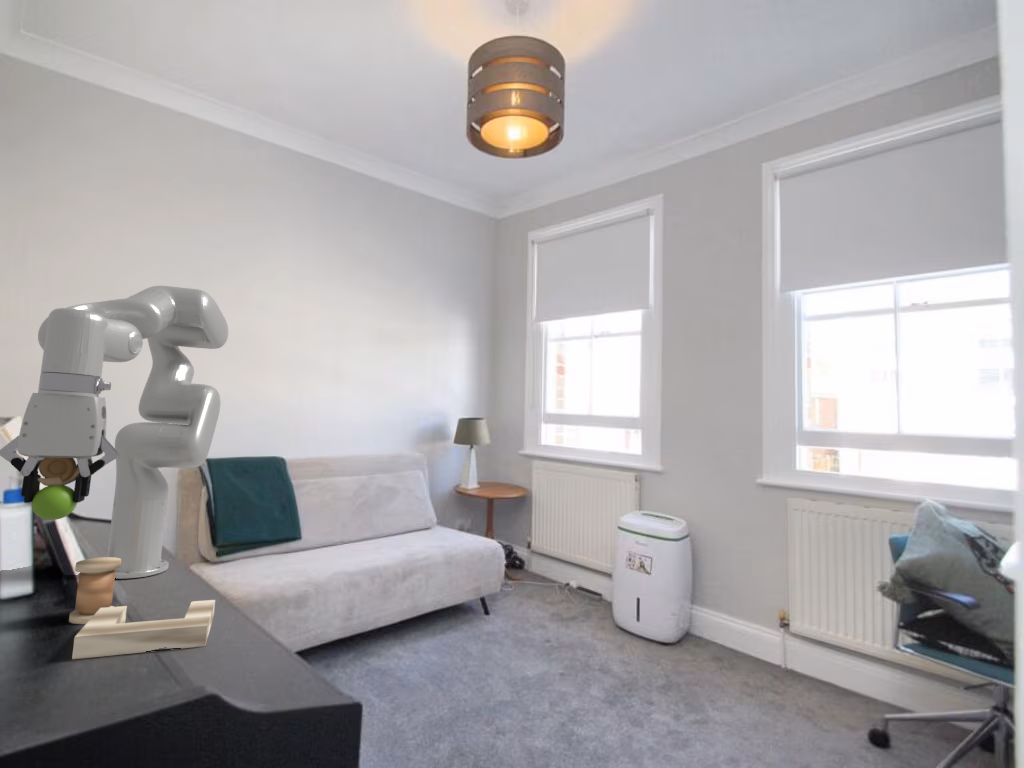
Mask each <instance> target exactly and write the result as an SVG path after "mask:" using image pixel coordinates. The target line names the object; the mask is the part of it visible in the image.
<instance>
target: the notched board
mask: <svg viewBox="0 0 1024 768" xmlns="http://www.w3.org/2000/svg"><path fill="white" fill-rule="evenodd" d="M215 607H216V599H207V600H195V601H194V600H193V601H191V602H190V605H189V607H188V609H187V610H186V611H187V612H186V613H185V615H184V617H183V618H169V619H168V618H167V619H160V620H159V619H158V620H147V621H146V620H143V621H131V622H126V617H127V608H128V606H127V605H124V606H123V605H121V606H114V607H105V608H100V609H99V610H98V611H97V612H96V613H95V615H94V616H93V617H92V618H91V619H90V620H89V621H88V622H87V624H84V626H83V627H82V628H80V630H79V631H78V632H77V633H76V635H75V636H74V638H73V649H72V656H71V657H72V658H71V660H80V659H89V658H90V659H91V658H98V657H99V658H100V657H112V656H119V655H121V656H122V655H128V654H139V653H140V654H141V653H147V652H146V651H151V650H155V649H159V648H164V647H167V648H181V649H187V648H188V649H189V648H190V649H191V648H198V647H206V644H207V641H208V638H209V634H210V630H211V629H212V624H213V622H214V616H215V609H216V608H215ZM151 652H152V651H151Z"/></svg>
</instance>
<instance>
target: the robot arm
mask: <svg viewBox="0 0 1024 768" xmlns="http://www.w3.org/2000/svg"><path fill="white" fill-rule="evenodd" d="M228 338H229V327H228V322H227V320H226V318H225V316H224V314H223V312H222V311H221V309H220V307H219V305H218V304H217V302H216V300H215V299H214V298H213V297H212V296H211V295H210V294H209V293H208V292H206V291H205V290H202V289H198V288H196V289H195V288H190V287H189V288H187V287H180V286H179V287H178V286H170V285H169V286H168V285H153V286H150V287H147V288H145V289H143V290H140V291H139V292H137V293H134V294H133V295H130V296H129V297H125V298H119V299H111V300H105V301H104V300H103V301H96V302H88V303H81V304H76V305H75V304H74V305H70V306H67V307H60V308H58V307H57V308H55V309H52V311H50V312H49V314H48V316H47V317H46V318H45V319H44V320H43V322H42V323H41V325H40V326H39V329H38V331H37V342H38V344H39V346H40V348H41V349H42V350H43V354H42V361H41V369H40V374H39V375H40V376H39V383H38V388H37V389H38V391H37V392H32V394H31V396H30V398H29V401H28V403H27V406H26V408H25V412H24V415H23V418H22V422H21V427H20V430H19V434H18V435H17V436H16V437H14V439H12V440H11V441H9V442H8V443H7V444H5V445H4V446H3V447H1V449H0V457H2V458H3V459H4V460H5V461H7V462H9V463H10V464H11V466H13V468H15V469H16V470H17V471H18V472H19V473H20V475H21V476H22V477H23V479H22V485H21V497H24V499H23V503H25V504H27V503H29V504H30V503H32V500H33V498H34V496H35V495H36V494H37V492H39V491H40V486H41V483H40V482H39V481H38V478H42V475H41V474H40V473H39V465H40V463H41V461H42V460H43V459H44V458H45V457H47V458H73V459H76V464H77V463H78V466H79V470H80V473H79V477H77V478H76V480H75V481H74V489H73V490H74V496H73V502H75V503H77V504H79V503H81V502H83V501H84V500H85V497H88V496H89V495H90V489H91V488H90V487H91V482H92V476H93V475H94V474H95V473H97V472H98V471H100V470H101V469H102V468H104V467H105V466H106V465H108V464H110V463H111V462H113V461H114V460H115V464H116V465H115V466H116V467H115V468H116V476H115V478H116V479H115V488H114V495H113V496H114V498H113V504H112V513H111V523H110V530H109V539H108V548H107V556H106V557H115V558H120V559H121V566H120V567H119V568H117V569H115V570H116V572H115V578H116V579H115V580H118V579H119V580H123V579H124V580H125V579H138V578H143V577H149V576H154V575H158V574H161V573H164V572H166V571H167V570H168V569H169V565H170V563H169V561H167V560H165V559H162V551H163V542H164V533H165V527H166V526H165V522H166V515H167V507H168V496H169V485H168V482H167V479H166V478H165V477H164V475H163V473H162V471H161V470H160V468H169V469H170V468H173V469H174V468H175V469H194V468H199V467H201V466H202V465H203V464H204V463H205V462H206V460H207V458H208V455H209V452H210V449H211V445H212V442H213V439H214V438H213V437H214V434H215V431H216V427H217V423H218V420H219V416H220V411H221V395H220V394H219V392H218V389H216V388H215V386H214V387H213V386H212V385H208V384H201V383H192V382H193V378H194V374H195V368H194V366H193V364H192V363H191V361H190V359H189V358H188V357H187V356H186V355H185V354H184V353H183V352H182V350H181V349H180V348H179V347H182V348H183V347H185V348H196V349H207V350H216V349H220V348H222V347H223V346H224V345H225V344H226V343H227V340H228ZM145 339H147V343H148V347H149V351H150V355H151V359H152V364H151V365H152V366H151V370H150V373H149V375H148V378H147V380H146V383H145V385H144V388H143V391H142V393H141V396H140V398H139V403H138V413H139V416H141V419H143V420H145V421H147V422H145V421H144V422H134V423H130V424H127V425H124V426H123V427H122V428H120V430H118V432H117V433H116V435H115V439H114V446H113V445H112V444H111V443H110V442H109V440H108V439H107V437H106V436H107V403H106V398H105V397H101V396H100V394H101V393H102V392H104V391H111V389H112V383H111V382H110V381H109V382H108V381H105V380H104V379H103V378H102V375H103V374H102V373H103V367H104V365H103V364H104V362H108V363H125V362H129V361H132V360H134V359H135V358H136V357H138V356H139V355H140V353H141V351H142V348H143V344H144V343H143V342H144V340H145ZM103 453H104V455H103V456H102V457H101V458H99V459H97V460H95V461H94V462H93V458H92V457H98V456H100V455H102V454H103ZM20 455H21V456H20ZM22 456H24V457H27V459H25V458H24V457H22Z"/></svg>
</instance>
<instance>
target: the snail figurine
mask: <svg viewBox="0 0 1024 768" xmlns="http://www.w3.org/2000/svg"><path fill="white" fill-rule="evenodd" d="M38 472H39V475H40V476H41V478H38V481H39V482H40V484H42V485H43V486H45V487H43V488H41V489H39V492H37V494H36V495H35V496H34V498H33V500H32V502H31V508H32V512H33V513H34V515H36V516H37V517H38V518H41V519H43V520H48V521H56V520H61V519H63V518H65V517H67V516H69V515H70V514H71V513H72V512H74V510H75V508H77V504H78V503H75V502H73V496H74V489H73V488H71V487H70V486H67V485H69V484H71V483H73V482H75V480H76V478H77V477H79V473H80V470H79V466H78V463H77V461H76V460H75V458H47V457H45V458H44V459H43V460H42V461H41V463H40V465H39V469H38Z"/></svg>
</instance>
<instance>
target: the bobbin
mask: <svg viewBox="0 0 1024 768" xmlns="http://www.w3.org/2000/svg"><path fill="white" fill-rule="evenodd" d="M120 566H121V559H120V558H115V557H107V556H102V557H93V558H86V559H81V560H79V561H77V562H76V563H75V568H74V571H75V572H77V573H79V574H78V580H77V581H78V583H77V587H76V588H77V590H76V598H75V605H74V610H73V611H71V612H70V613H69V617H68V622H69V623H70V624H73V625H86V624H87V622H88V621H89V620H90V619H91V618H92V617H93V616H94V615H95V613H96V612H97V611H98V610H99V609H100V608H105V607H115V606H114V605H112V604H113V597H114V588H115V580H116V579H115V572H116V570H115V569H117V568H119V567H120Z"/></svg>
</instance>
